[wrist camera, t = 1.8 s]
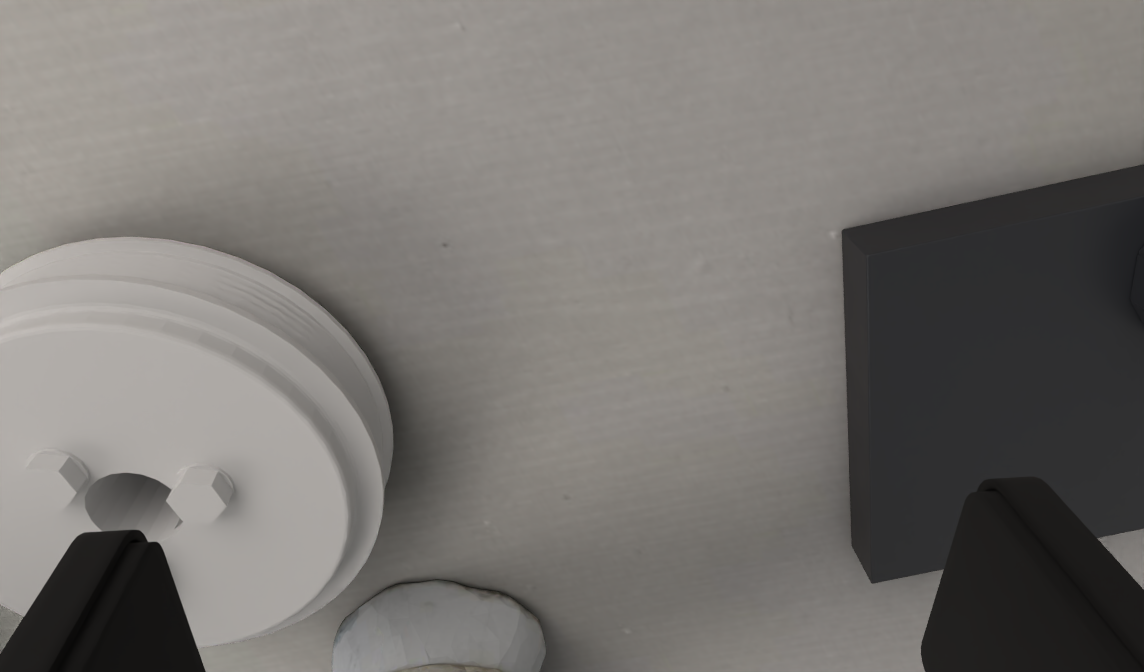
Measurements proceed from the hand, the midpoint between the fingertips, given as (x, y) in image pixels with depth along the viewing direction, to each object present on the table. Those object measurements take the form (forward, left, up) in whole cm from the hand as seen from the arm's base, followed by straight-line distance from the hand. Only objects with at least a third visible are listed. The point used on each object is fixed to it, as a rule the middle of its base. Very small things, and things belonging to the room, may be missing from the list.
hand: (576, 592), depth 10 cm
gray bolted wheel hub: (+5, -12, -15) cm, 20 cm away
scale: (+10, +15, -15) cm, 23 cm away
